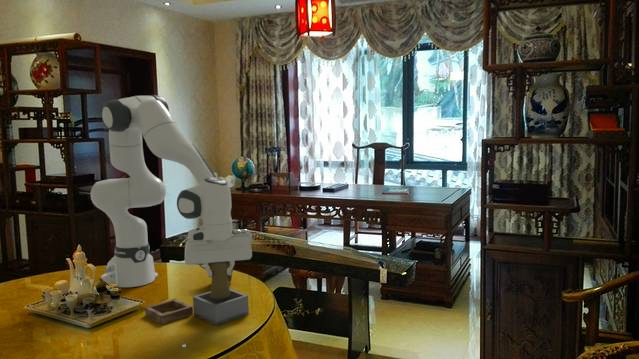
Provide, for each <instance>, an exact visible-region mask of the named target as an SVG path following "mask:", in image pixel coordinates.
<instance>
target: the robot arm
mask: <svg viewBox="0 0 639 359" xmlns="http://www.w3.org/2000/svg"><path fill="white" fill-rule="evenodd" d="M169 108H170V107H169V104H168V102H167V101H166V99H165V98H164V97H163V96H161V95H156V94H150V95H149V94H148V95H134V96H130V97H123V98H120V99H112V100H108V101H107V102H105V103H104V104H103V106H102V108H101V119H102V122H103V125H104V126H105V128H107V129H108V145H109V146H108V147H109V158H110V159H109V160H110V164H111V165H112V166H113V168H115V169H116V170H118V171H121V172H123V173H125V174H127V175H128V176H129V177H127V178H126V177H125V178H109V179H103V180H100V181H96V182H95V183H94V184H93V186H92V187H91V190H90V199H91V202H92V204H93V205H94V206H95V207H96V208H98V209H99V210H101V211H102V212H103V213H105V215H107V217H108V218H109V219H110V221H111V222H112V225H113V230H114V235H115V245H113V247H114V250H113V252H114V255H113V257H111V259H110V260H109V261H108V262H107V265H106V266H105V268H104V269H105V273H104V274H102V275H101V276H100V278H101V280H102V281H103V282H104V281H105V282H107V283H109V284H117V286H118V287H117V288H134V287H136V288H137V287H141V286H145V285H148V284H151V283H152V282H154V281H155V279H156V278H158V277H159V273H158V272H156V270H155V265H154V257H153V255H152V254H150V251H151V250H150V243H149V241H148V240H149V239H148V225H147V223H146V221H145V220H144V219H142V218H140V217H138V216H135V215H133V214H130V212H129V211H128V210H129V209H133V208H134V209H135V208H148V207H152V206H157V205H160V204H161V203H163V202H164V200H165V198H166V194H167V189H166V185H165V182H163V181H162V180H161V179H160V178H158V177H157V176H155V175H154V174H153V173H152V172H151V171H150V170H149V168H148V167H147V165H146V162H145V155H144V147H143V139H144V141H145V143H146V146H147V147H148V149H149V150H150V151H151V153H152V154H153V156H154V155H155V156H156V157H157V158H160V159H162V160H166V161H170V162H174V163H177V164H181V165H182V166H183V167H186V168H187V169H188V170H189V172H190V173H191V174H192V176H193V178H194V179H195V180H196V182H197V183H198V184H196V185H194V186H192V187H188V188H186V189H182V190H181V191H180V192H179V194H178V196H177V199H176V208H177V211H178V213H179V214H180V216H181V217H183V218H185V219H187V220H195V219H196V220H197V219H201V220H202V221H201V222H202V225H200V226H198V227H195V228H192V229H190V230H188V232H187V238H188V239H187V240H186V242H185V247H184V263H185V264H186V265H187V266H188V265H199V264H200V265H201V264H202V266H203V267H204V268H205V269H204V268H203V269H204V270H205V271H206V276H207V278H212V270H210V268H208V267H209V265H208V263H214V262H225V261H230V266H229V268H228V269H227V270H226V274H227V275H231V270H232V268H233V269H234V266H235V264H236V263H235V261H245V260H246V261H247V260H251V258H252V257H253V250H252V244H251V243H252V241H253V233H252V232H251V231H250V230H248V229H246V228H245V229H244V228H243V229H234V230H233V219H232V214H231V212H232V193H231V187H230V185H229V182H228V181H227V180H226V179H224V178H221V177H217V176H216V174H215V172H214V171H213V170H212V168H211V167H210V166H209V164H208V162H207V160H206V159H205V158H204V156H203V155H202V153H201V152H200V150H199V149H198V148H197V146H195V145H194V144H193V143H191V141H190V140H188V139H187V137H186V136H185V135H184V134H183V132H182V131H181V129H180V128H179V126H178V124H177V123H176V120H175V119H174V117H173V116H172V113H171V112H170V109H169ZM105 282H104V283H105Z"/></svg>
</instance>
